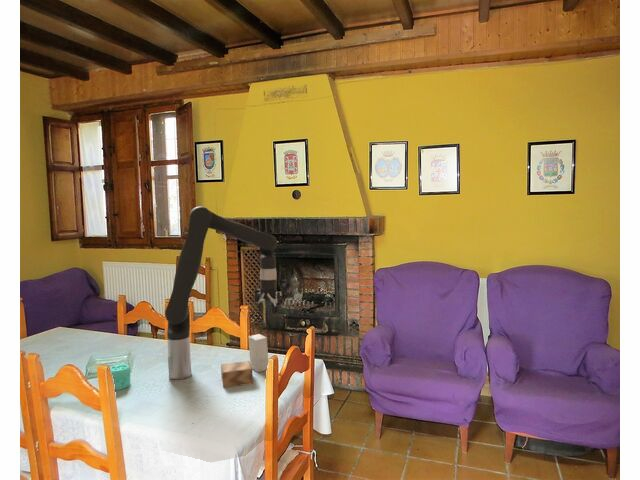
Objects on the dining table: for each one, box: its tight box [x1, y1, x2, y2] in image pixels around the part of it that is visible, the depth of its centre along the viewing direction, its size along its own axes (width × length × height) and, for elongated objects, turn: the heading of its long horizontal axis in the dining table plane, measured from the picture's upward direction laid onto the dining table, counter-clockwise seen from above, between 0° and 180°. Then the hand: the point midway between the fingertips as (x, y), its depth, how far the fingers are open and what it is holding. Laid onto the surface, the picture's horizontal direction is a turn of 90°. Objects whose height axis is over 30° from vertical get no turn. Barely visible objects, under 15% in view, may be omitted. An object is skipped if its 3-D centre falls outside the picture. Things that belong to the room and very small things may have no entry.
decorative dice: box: [109, 363, 131, 391], centre depth 174 cm, size 8×8×8 cm
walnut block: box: [220, 360, 254, 388], centre depth 177 cm, size 12×10×6 cm
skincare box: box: [248, 333, 269, 373], centre depth 190 cm, size 8×6×15 cm
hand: (268, 312), depth 193 cm, fingers open, 8 cm apart
